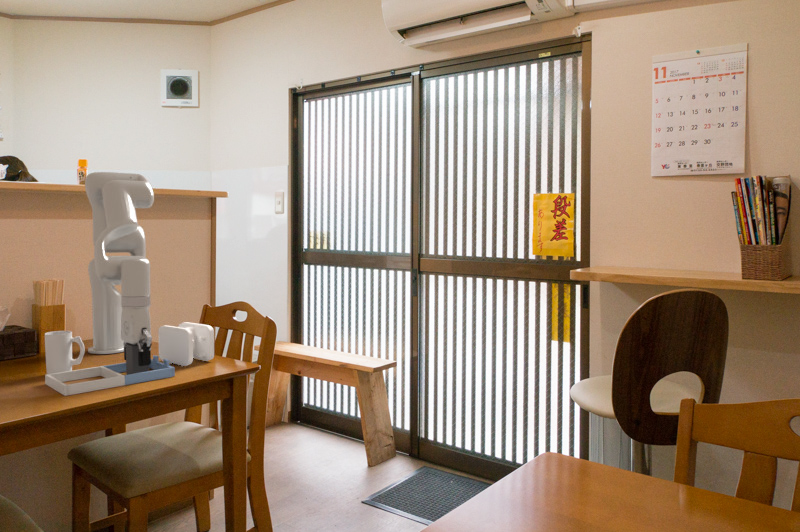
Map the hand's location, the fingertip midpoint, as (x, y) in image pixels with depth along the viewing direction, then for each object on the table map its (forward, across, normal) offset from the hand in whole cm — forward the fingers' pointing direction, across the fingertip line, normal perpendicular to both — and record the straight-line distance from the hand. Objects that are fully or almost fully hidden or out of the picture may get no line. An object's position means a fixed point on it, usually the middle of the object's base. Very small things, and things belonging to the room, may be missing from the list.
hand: (137, 362), depth 173 cm
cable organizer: (+4, -7, +18) cm, 20 cm away
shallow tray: (+4, 0, -7) cm, 8 cm away
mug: (+4, -15, -14) cm, 21 cm away
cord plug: (+4, 0, 0) cm, 4 cm away
